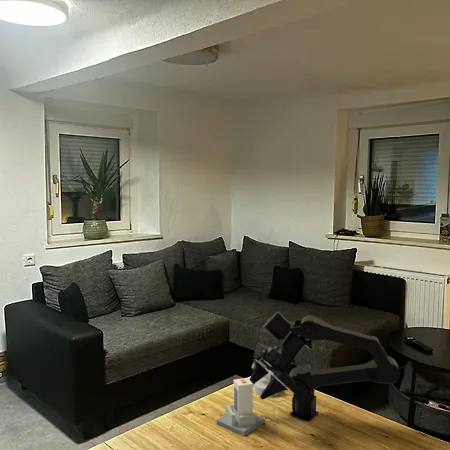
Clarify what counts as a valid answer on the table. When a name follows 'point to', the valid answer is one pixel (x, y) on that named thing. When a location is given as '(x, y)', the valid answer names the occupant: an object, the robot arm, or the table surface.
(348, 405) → the table surface
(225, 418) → the plate
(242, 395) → the white block orange patch
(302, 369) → the robot arm
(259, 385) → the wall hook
